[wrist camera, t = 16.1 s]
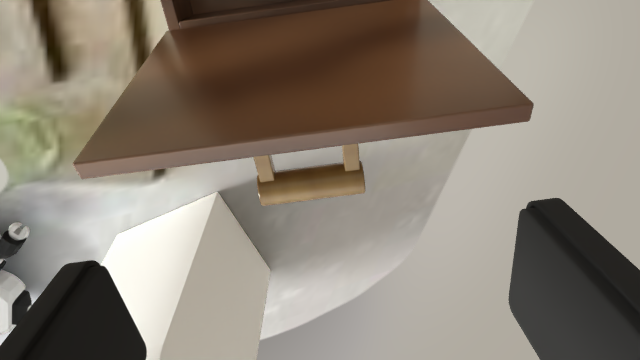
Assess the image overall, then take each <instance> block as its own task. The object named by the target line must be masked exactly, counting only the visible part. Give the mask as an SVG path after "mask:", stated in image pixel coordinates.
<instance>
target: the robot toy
mask: <svg viewBox="0 0 640 360" xmlns="http://www.w3.org/2000/svg"><path fill="white" fill-rule="evenodd" d="M21 225H22V223H20V222H15V223H13V224H11V225H10V226H9V229H8V231H6V232H5V233H4V234H3V236H2V237H1V234H0V335H2V334H5V333H8V332H10V331H11V330H12V329H13V327H14V326H15V325H17V324H18V323H19V321H20V320H21V319H22V318H23V316H24V315H25V314H26V312H27V311H28V310H29V309H30V307H31V306H32V305H31V298H30V294H29V292H28V291H26V290H25V284H24V283H23V282H22V281H21V280H20V279H19V278H17V277H16V276H15V275H13V274H11V273H9V272H7V271H4V270H2V268H3V267H4V265H5V263H6V261H5V260H4V259H5V258H8V257H10V256H12V255H14V254H16V253H17V252H18V250H19V249H20V248H21V246H22V245H23V243H24V242H25V240H26V238H27V237H28V236H29V233H30V228H29V227H27V226H25V227H23V229H21V228H19V227H20V226H21Z"/></svg>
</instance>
